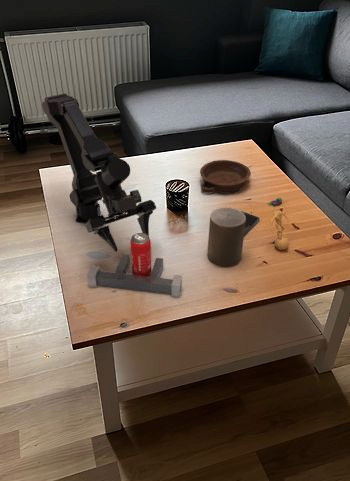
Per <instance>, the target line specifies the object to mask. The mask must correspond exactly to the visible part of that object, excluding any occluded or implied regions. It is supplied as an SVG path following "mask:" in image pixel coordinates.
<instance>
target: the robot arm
mask: <svg viewBox="0 0 350 481" xmlns="http://www.w3.org/2000/svg"><path fill="white" fill-rule="evenodd" d="M41 107H42V110H43V111H42V112H43V113H44V114H45V115H46V116H47V119H48V121H49V122H50V123H51V124H52V125H53V126H55V127H56V129H57V131H58V134H59V136H60V140H61V143H62V146H63V148H64V151H65V153H66V157H67V159H68V163H69V165H70V166H69V167H70V168H71V171H72V173H73V174H72V175H73V177H72V181H71V189H72V191H71V192H70V193H69V194H68V195H69V199H70V202H71V204H73V205H74V206H75V211H76V218H75V222H76V223H85V228H86V230H87V233H88V234H91V233H93V235H98V236H99V237H100V238H101V239H103V240H104V241H105V243H107V245H108V246H109V247H110V248H111V249H113V251H114V252H115V253H117V252H119V250H118V246H117V244H116V242H115V239H114V237H113V235H112V233H111V230H110V225H109V224H112V223H115V222H118V221H120V220H124V219H127V218H129V217H134V216H138V217H137V218H136V219H137V222H138V224H139V228H140V230H141V233H145V234H147V235H148V236H149V237H150V231H149V230H150V229H149V222H150V217H151V215H153V214H154V211H155V210H156V209H157V206H156V204H155V203H156V202H154V200H152V199H149V200H145V201H142V196H141V192H139V189H135V190H130V191H129V194H127V192H126V191H125V189H123V188H122V185H121V184H123V183H124V181H125V180H127V179H128V178H129V176H130V175H131V167H130V165H129V163H128V162H127V161H125V160H124V159H122V158H120V156H118V155H117V154H116V153H115V152H114V151H113V150H112V149H111V148H109V146H108V145H107V143H106V141H105V140H103V139H101V138H99V137H97V135H96V134H95V133H94V131H93V129H92V127H91V125H90V124H89V122H88V120H87V119H86V116H85V115H84V113H83V111H82V109H81V108H80V104H79V100H78V99H77V98H76V97H75V96H71V95H68V94H67V93H65V92H64V93H61V94H56V95H49V96H45V98H44V99H43V101H42V103H41ZM99 201H102V203H103V205H105V207H106V211H107V213H108V214H107V216H104V215H103V214H102V211H101V205H100V203H99ZM101 214H102V215H101Z"/></svg>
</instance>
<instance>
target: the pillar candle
mask: <svg viewBox="0 0 350 481" xmlns="http://www.w3.org/2000/svg"><path fill="white" fill-rule="evenodd" d="M241 211H242V210H240V209H238V208H232V207H226V206H225V207H220V208H219V207H218V208H216V209H213V210H212V211H211V213H210V215H209V227H208V239H207V242H208V243H207V254H206V256H207V259H208V261H210V263H211V264H212V265H214V266H217V267H220V268H232V267H234V266H236V265H238V264H239V263H240V262H241V260H242V254H243V247H244V238H245V236H244V230H245V221H246V217H245V215H244V213H243V212H244V211H243V212H241Z"/></svg>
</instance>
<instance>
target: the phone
mask: <svg viewBox="0 0 350 481" xmlns="http://www.w3.org/2000/svg"><path fill="white" fill-rule="evenodd" d="M240 211H241V212H243V213H244V215H245V217H246V221H245V230H244V237H246V236H247V234H248V233H249V232H250V231H251V230H252V229H254V227H255V226H256V225H257V224H258V223H260V217H259V216H256V215H253V214H251V213H248V212H245V211H243V210H240Z"/></svg>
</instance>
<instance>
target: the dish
mask: <svg viewBox="0 0 350 481" xmlns="http://www.w3.org/2000/svg"><path fill="white" fill-rule="evenodd" d="M199 174H200V176H201V178H202V184H201V186H200V187H201V188H200V190H201V192H203V193H205V194H210V193H215V192H216V193H222V194H223V193H224V194H229V193H235V192H237V191H240V190H241V189H242V188H244V187H245V185H246V184H247V183H248V182H247V181H248V180H249V179H250V177H251V174H252V173H251V169H250V168H249V167H248V166H246V164H244V163H241V162H238V161H234V160H228V159H221V160H220V159H218V160H212V161H209V162H207V163H205V164H204V165H203V166H202V167H200V169H199Z"/></svg>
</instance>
